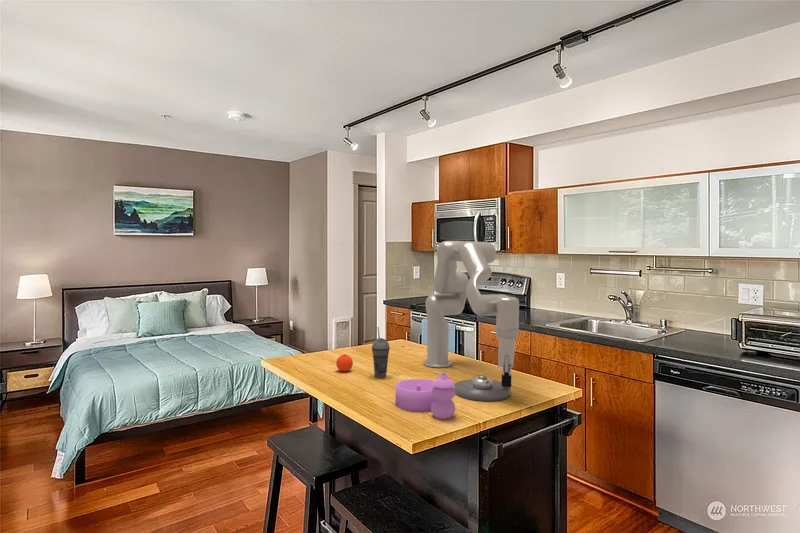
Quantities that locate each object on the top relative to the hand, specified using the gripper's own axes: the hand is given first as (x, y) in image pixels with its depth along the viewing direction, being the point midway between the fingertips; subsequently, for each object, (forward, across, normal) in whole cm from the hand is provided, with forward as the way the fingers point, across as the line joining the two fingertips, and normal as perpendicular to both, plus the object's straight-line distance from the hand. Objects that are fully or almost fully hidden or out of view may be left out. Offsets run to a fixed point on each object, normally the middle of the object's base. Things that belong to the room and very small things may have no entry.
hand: (506, 386), depth 163 cm
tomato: (+5, -22, -66) cm, 70 cm away
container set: (+5, +15, -25) cm, 30 cm away
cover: (+3, -6, -8) cm, 10 cm away
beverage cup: (+5, -17, -50) cm, 53 cm away
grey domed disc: (+5, -6, -8) cm, 11 cm away
